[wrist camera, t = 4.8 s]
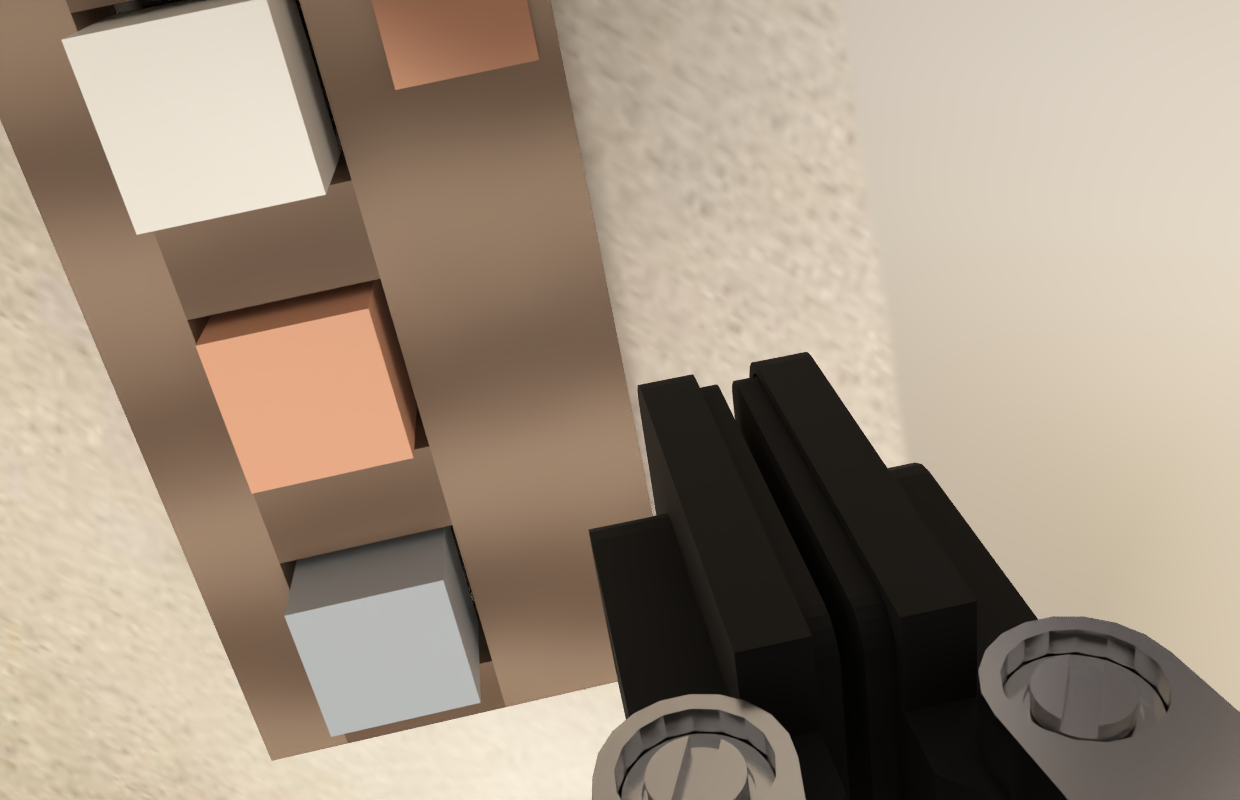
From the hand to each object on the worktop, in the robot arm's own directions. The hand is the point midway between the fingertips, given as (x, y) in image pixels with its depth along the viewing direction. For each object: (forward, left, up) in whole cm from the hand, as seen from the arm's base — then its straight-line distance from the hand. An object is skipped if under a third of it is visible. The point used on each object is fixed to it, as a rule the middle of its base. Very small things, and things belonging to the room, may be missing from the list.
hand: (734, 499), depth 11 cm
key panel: (+5, -6, -20) cm, 21 cm away
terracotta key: (+5, -8, -19) cm, 21 cm away
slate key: (+12, -8, -18) cm, 23 cm away
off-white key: (-2, -8, -18) cm, 20 cm away
